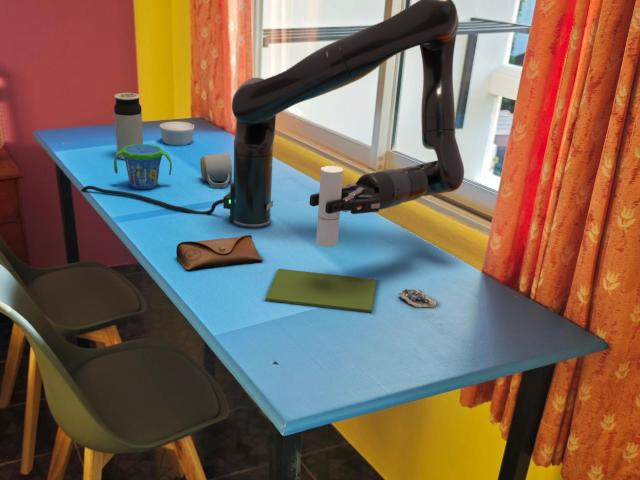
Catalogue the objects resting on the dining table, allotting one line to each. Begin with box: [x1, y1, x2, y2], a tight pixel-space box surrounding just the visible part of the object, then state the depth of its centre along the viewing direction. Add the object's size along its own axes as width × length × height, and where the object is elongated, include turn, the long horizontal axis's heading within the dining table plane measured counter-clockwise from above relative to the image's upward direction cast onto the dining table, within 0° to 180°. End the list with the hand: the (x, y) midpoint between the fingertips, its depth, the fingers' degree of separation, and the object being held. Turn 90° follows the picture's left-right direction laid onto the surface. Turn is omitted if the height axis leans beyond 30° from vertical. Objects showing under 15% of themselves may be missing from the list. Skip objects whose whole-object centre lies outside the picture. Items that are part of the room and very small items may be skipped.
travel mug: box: [113, 92, 144, 161], centre depth 231 cm, size 8×8×18 cm
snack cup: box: [113, 143, 173, 190], centre depth 210 cm, size 16×10×10 cm
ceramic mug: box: [200, 152, 233, 189], centre depth 215 cm, size 11×8×8 cm
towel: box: [265, 268, 378, 314], centre depth 158 cm, size 21×15×1 cm
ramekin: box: [159, 120, 195, 146], centre depth 250 cm, size 11×11×5 cm
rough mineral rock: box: [397, 288, 437, 308], centre depth 155 cm, size 7×8×2 cm
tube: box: [315, 165, 344, 248], centre depth 152 cm, size 4×4×15 cm
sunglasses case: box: [175, 234, 263, 271], centre depth 170 cm, size 18×7×7 cm, turn 112°
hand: (319, 204), depth 150 cm, fingers closed on tube, 4 cm apart
